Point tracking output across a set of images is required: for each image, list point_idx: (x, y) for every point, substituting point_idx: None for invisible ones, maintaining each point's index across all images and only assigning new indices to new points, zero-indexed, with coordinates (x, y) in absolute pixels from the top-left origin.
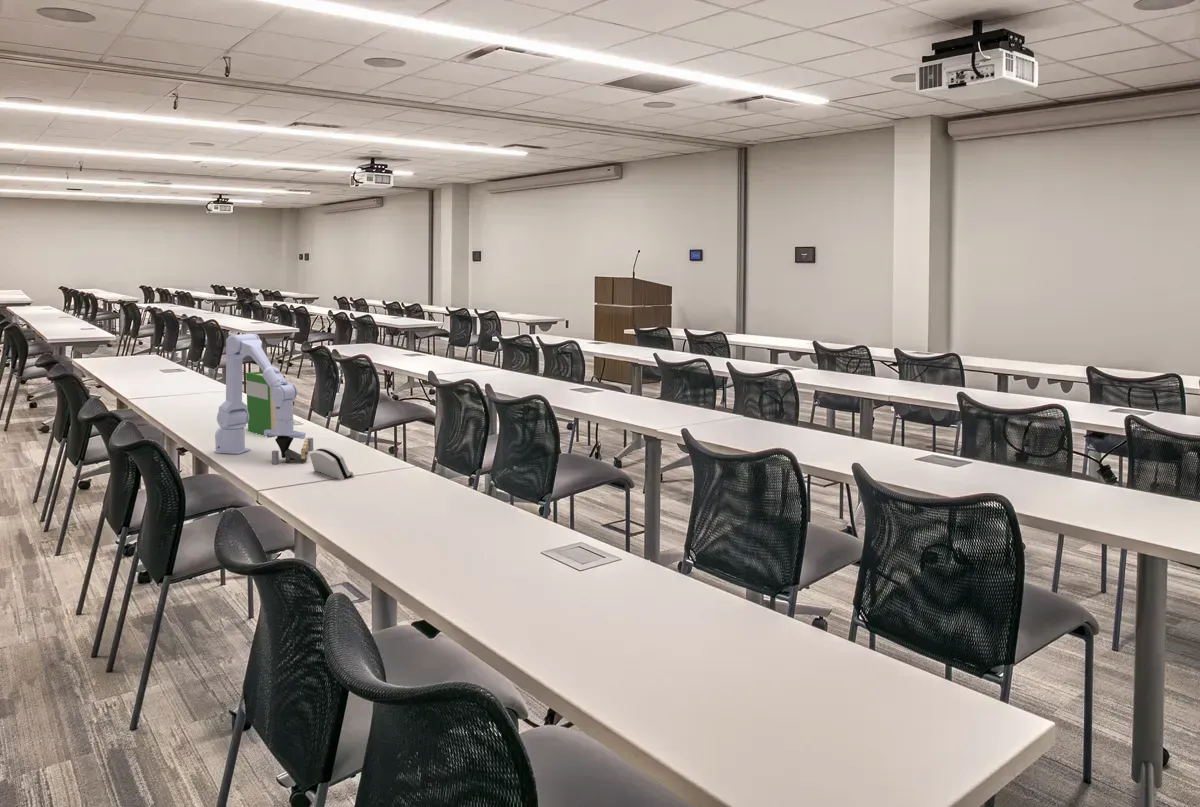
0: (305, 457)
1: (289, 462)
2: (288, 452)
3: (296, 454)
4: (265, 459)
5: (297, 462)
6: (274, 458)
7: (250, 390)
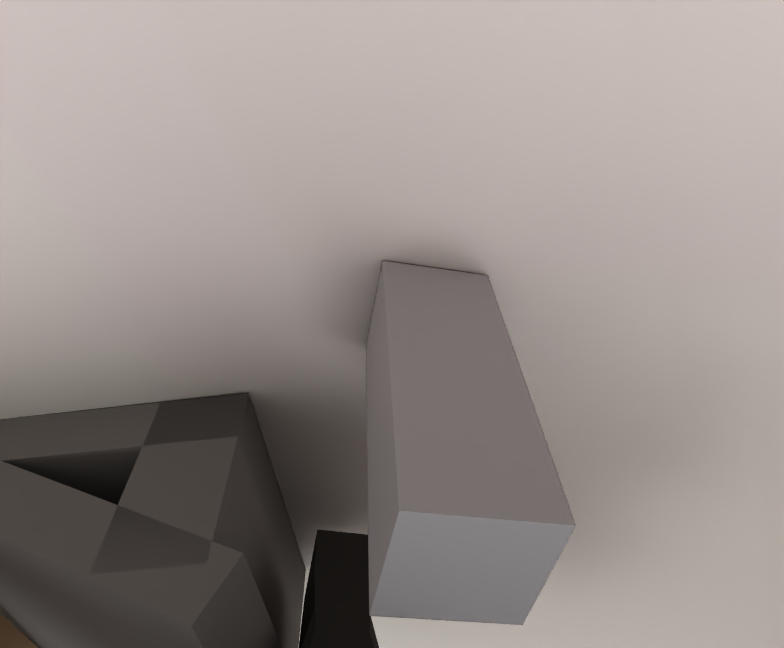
0: None
1: (167, 409)
2: (150, 629)
3: (78, 641)
4: (682, 552)
5: (9, 426)
6: (438, 347)
7: None
